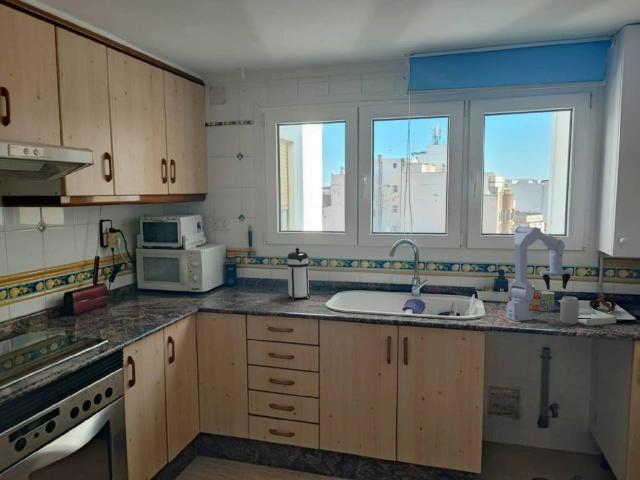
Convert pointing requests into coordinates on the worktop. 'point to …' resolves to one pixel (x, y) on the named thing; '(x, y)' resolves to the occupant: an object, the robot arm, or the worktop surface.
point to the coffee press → (298, 274)
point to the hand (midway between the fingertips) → (556, 288)
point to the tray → (596, 321)
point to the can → (569, 310)
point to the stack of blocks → (541, 300)
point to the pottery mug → (597, 302)
